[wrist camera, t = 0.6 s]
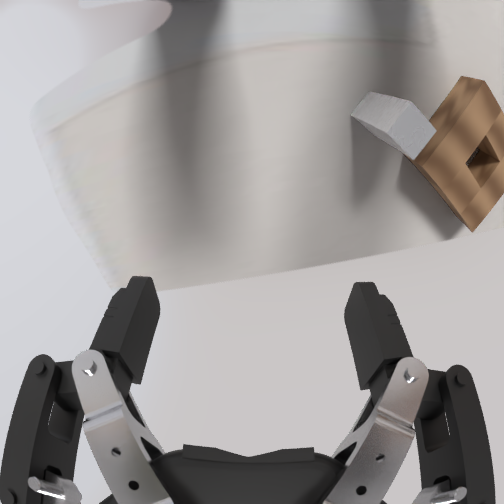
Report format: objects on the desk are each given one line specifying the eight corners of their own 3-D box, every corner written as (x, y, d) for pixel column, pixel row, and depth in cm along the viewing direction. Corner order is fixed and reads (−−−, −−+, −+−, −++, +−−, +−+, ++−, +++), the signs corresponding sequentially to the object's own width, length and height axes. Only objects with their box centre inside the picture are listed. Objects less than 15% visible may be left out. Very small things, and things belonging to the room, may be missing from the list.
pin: (368, 91, 26) (411, 101, 18) (391, 112, 27) (436, 130, 19) (350, 114, 28) (386, 132, 20) (373, 135, 29) (413, 160, 21)
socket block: (461, 76, 22) (484, 80, 18) (505, 150, 27) (524, 161, 23) (403, 153, 30) (422, 166, 26) (456, 215, 35) (472, 232, 31)
